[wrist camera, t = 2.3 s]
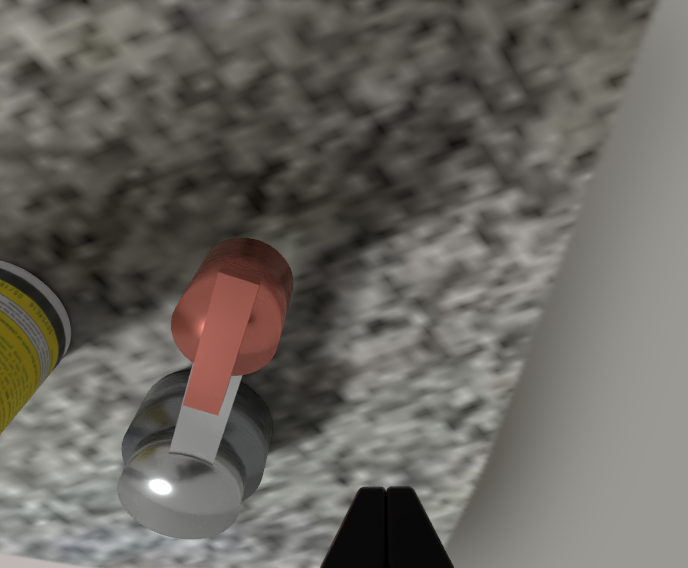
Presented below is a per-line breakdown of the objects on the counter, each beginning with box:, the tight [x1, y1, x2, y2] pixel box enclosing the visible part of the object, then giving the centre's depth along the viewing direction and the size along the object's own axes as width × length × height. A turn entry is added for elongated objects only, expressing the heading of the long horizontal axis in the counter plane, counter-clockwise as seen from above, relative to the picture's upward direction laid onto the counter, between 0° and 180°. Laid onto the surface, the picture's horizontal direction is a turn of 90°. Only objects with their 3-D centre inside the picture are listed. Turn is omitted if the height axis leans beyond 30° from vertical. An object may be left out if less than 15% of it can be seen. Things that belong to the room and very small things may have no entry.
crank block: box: [122, 370, 273, 502], centre depth 21 cm, size 5×5×2 cm
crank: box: [117, 238, 294, 539], centre depth 16 cm, size 12×4×3 cm, turn 161°
